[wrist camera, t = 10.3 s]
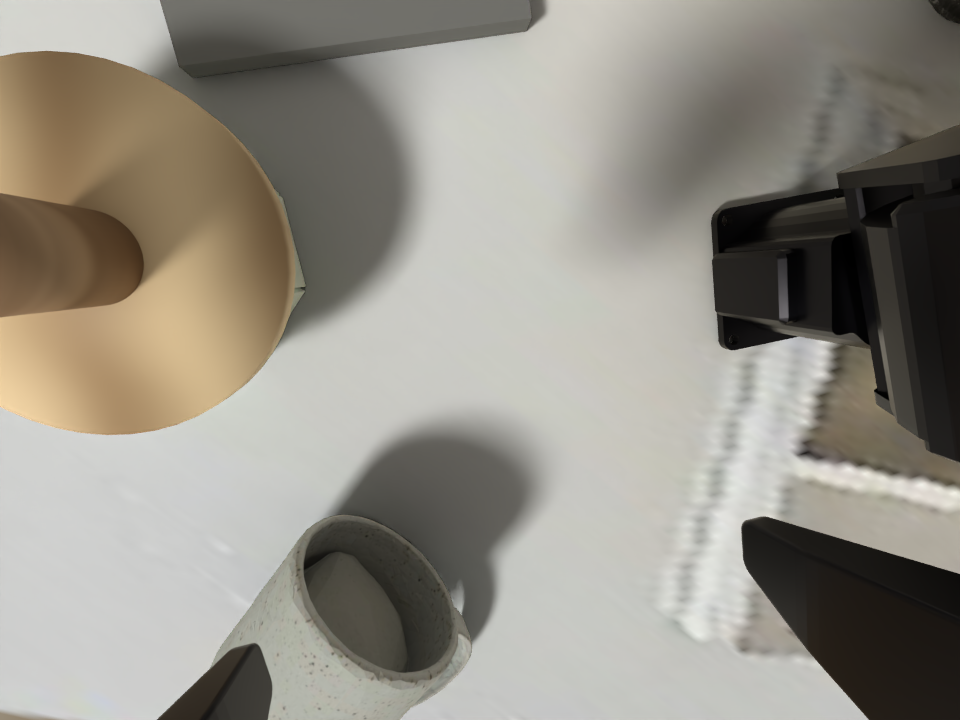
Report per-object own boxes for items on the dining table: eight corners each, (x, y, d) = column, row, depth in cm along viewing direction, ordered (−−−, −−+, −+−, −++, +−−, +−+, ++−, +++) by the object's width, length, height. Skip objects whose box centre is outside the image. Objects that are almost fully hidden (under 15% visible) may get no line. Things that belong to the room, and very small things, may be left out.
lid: (240, 42, 14) (126, -101, 8) (331, 387, 16) (287, 445, 11) (-160, 97, 13) (-571, -25, 7) (0, 456, 15) (-226, 555, 10)
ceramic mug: (226, 620, 22) (127, 808, 14) (323, 487, 21) (272, 610, 13) (411, 705, 24) (409, 904, 17) (502, 588, 23) (543, 741, 16)
